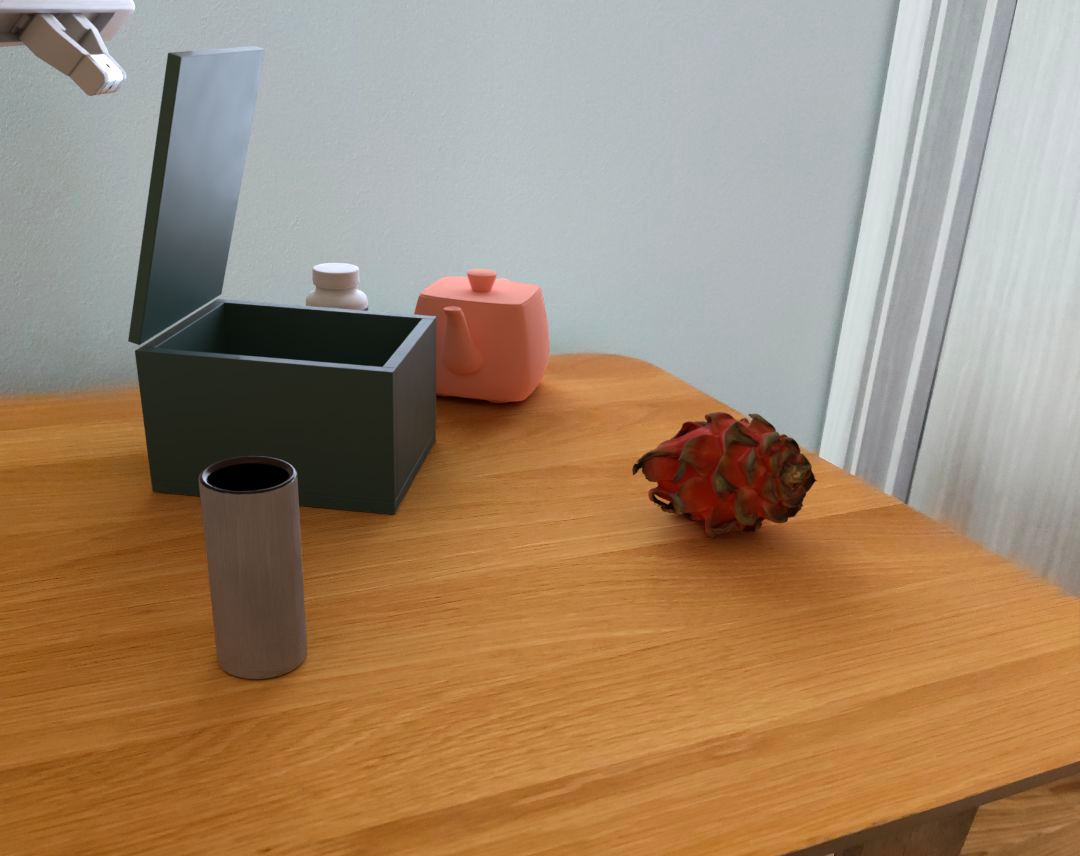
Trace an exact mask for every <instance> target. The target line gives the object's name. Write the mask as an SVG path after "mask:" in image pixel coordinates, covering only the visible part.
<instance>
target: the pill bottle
mask: <svg viewBox="0 0 1080 856" xmlns="http://www.w3.org/2000/svg"><path fill="white" fill-rule="evenodd" d="M360 277H361V276H360V267H359V266H357V265H355V264H352V263H346V262H325V263H318V264H315V265H314V266H312V285H313V286H315V289H313V290H311V291H309V292H308V293H307V295H306V298H305V306H313V307H326V308H338V309H351V310H364V311H369V300H368V296H367V294H365V292H363V291H362V290H360V289H358V286H359V285H360V282H361V278H360Z"/></svg>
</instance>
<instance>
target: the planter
mask: <svg viewBox="0 0 1080 856" xmlns="http://www.w3.org/2000/svg"><path fill="white" fill-rule="evenodd" d="M199 489H200V496H199V498H200V508H201V518H202V526H203V536H204V547H205V554H206V555H205V556H206V566H207V574H208V585H209V596H210V603H211V613H212V623H213V633H214V642H215V651H216V657H217V658H216V659H217V662H218V665H219V666H220V668H221V669H222V670H223V671H225V672H226V673H227V674H229V675H230V676H234V677H237V678H241V679H247V680H264V679H272V678H275V677H279V676H283V675H286V674H288V673H290V672H292V671H294V670H295V669H297V668H298V667H299V666H300V665H302V663H303V662H304V661H305V660H306V657H307V654H308V642H307V641H308V638H307V636H308V635H307V621H306V605H305V604H306V603H305V587H304V585H305V584H304V583H305V582H304V569H303V568H304V567H303V552H302V534H301V533H302V532H301V516H300V506H299V497H298V480H297V472H296V470H295V468H294V467H293V466H292V465H291V464H289V463H287V462H285V461H283V460H280V459H276V458H271V457H263V456H244V457H235V458H230V459H225V460H222V461H219V462H216V463H213V464H211V465H210V466H208V467H206V468H205V469H204V470H203V471H202V472H201V473H200V475H199Z"/></svg>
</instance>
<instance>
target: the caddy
mask: <svg viewBox="0 0 1080 856" xmlns="http://www.w3.org/2000/svg"><path fill="white" fill-rule="evenodd" d="M134 356H135V364H136V370H137V372H136V373H137V380H138V387H139V396H140V403H141V411H142V412H141V413H142V418H143V427H144V435H145V444H146V451H147V459H148V466H149V468H148V469H149V476H150V481H151V491H152V492H153V493H159V494H160V493H161V494H172V495H173V494H174V495H183V496H194V497H200V489H199V475H200V473H201V472H202V471H203V470H204V469H205V468H206V467H208V466H210V465H211V464H213V463H216V462H219V461H222V460H225V459H230V458H235V457H244V456H263V457H271V458H276V459H280V460H283V461H285V462H287V463H289V464H291V465H292V466H293V467H294V468H295V470H296V472H297V480H298V497H299V507H300V506H301V507H307V508H308V507H309V508H321V509H330V510H342V511H350V512H351V511H352V512H362V513H363V512H364V513H373V514H383V515H396V513H397V511H398V509H399V508H400V506H401V504H402V502H403V501H404V499H405V496H406V495H407V494H408V492H409V490H410V488H411V486H412V484H413V483H414V480H415V479H416V477H417V475H418V473H419V471H420V469H421V468H422V466H423V464H424V463H425V461H426V460H427V457H428V455H429V453H430V452H431V450H432V448H433V446H434V445H435V443H436V440H437V395H436V316H427V315H414V313H412V314H411V313H401V312H387V311H376V310H375V311H374V310H368V311H364V310H351V309H338V308H326V307H313V306H306V305H299V304H286V303H275V302H262V301H261V302H260V301H249V300H235V299H222V298H216V299H215V300H212V301H211V302H209V303H208V304H207V305H205V306H204V307H201V309H199V310H197V311H195V312H193V314H191V315H189V316H188V317H185V318H184V319H183V320H182V321H180V322H178V323H176V324H175V325H174V326H172V327H170V328H168V329H166V331H164V332H163V333H160V334H158V336H156V337H155V338H153V339H152V340H150V341H149V342H147V343H145V344H142V345H141V346H139V348H137V349H135V350H134Z"/></svg>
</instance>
